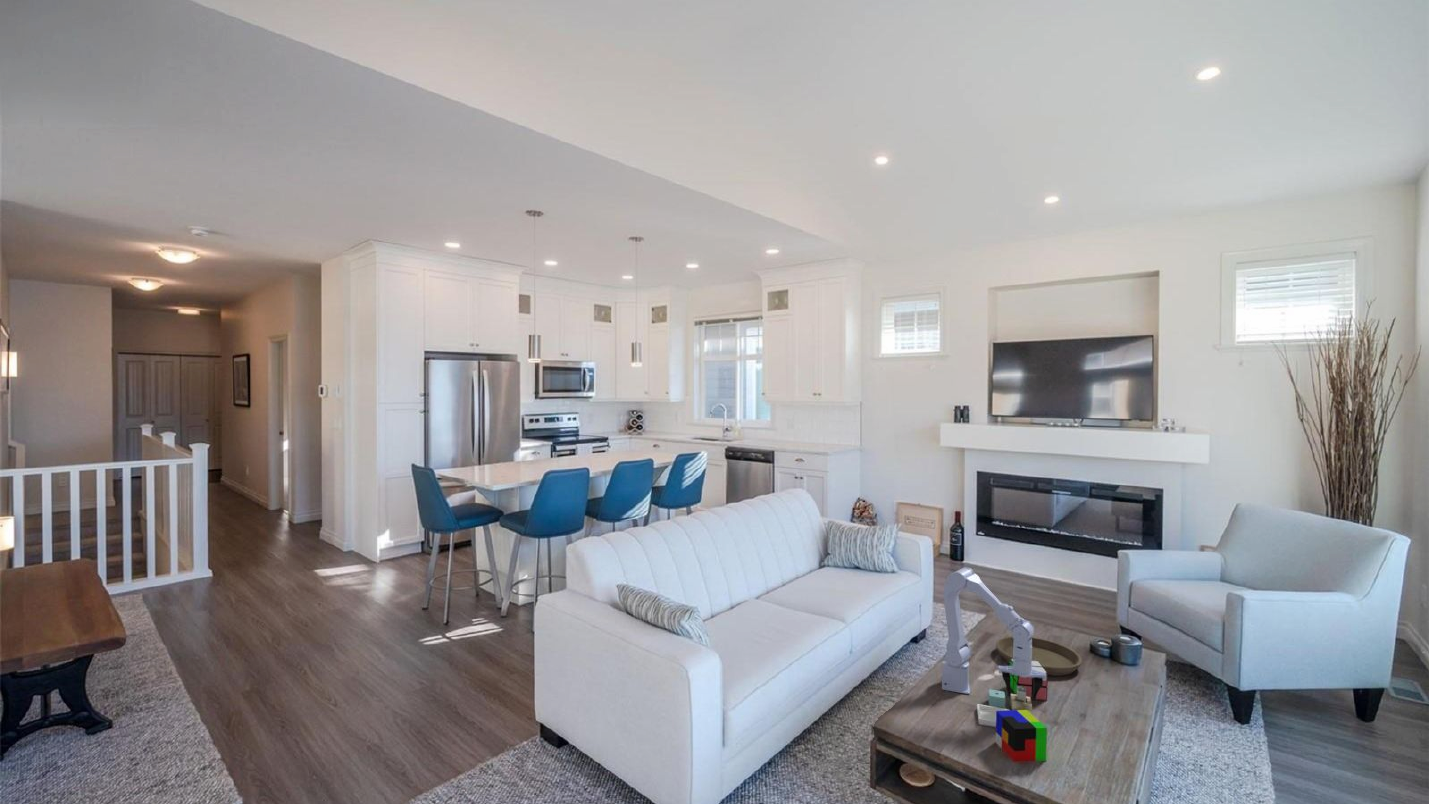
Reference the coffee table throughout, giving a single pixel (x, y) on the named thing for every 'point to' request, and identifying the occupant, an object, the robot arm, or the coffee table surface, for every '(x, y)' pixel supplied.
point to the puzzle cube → (1030, 682)
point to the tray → (988, 714)
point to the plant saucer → (1045, 655)
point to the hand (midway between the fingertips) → (1021, 696)
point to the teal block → (996, 698)
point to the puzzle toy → (1021, 735)
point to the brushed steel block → (1021, 694)
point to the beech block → (1020, 704)
